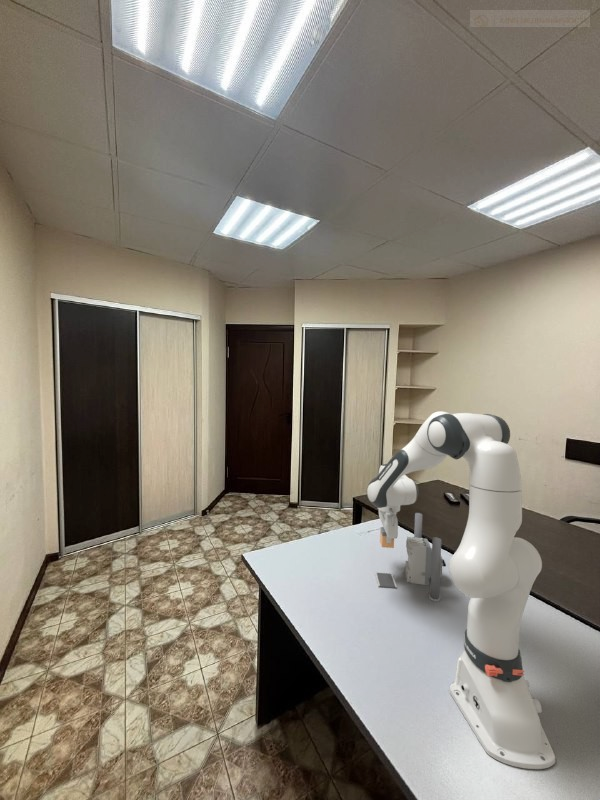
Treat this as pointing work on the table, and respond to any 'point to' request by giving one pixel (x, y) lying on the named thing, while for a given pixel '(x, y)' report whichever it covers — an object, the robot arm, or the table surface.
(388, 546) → the orange and grey block
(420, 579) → the circuit breaker
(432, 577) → the cord posts
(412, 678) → the table surface
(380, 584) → the mat
